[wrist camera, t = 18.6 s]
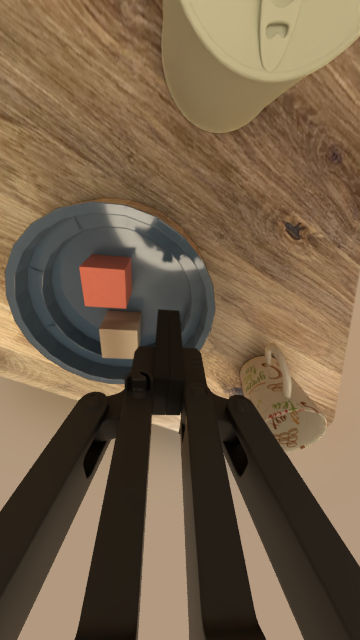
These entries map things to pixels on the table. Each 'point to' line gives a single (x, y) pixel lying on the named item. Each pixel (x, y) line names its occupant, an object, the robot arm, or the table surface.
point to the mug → (282, 401)
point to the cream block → (120, 334)
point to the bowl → (66, 288)
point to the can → (247, 53)
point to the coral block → (106, 281)
